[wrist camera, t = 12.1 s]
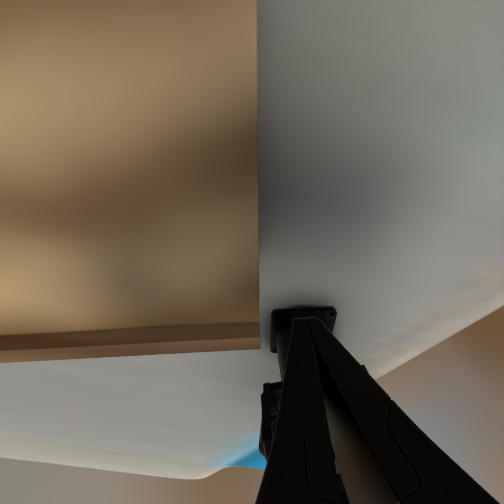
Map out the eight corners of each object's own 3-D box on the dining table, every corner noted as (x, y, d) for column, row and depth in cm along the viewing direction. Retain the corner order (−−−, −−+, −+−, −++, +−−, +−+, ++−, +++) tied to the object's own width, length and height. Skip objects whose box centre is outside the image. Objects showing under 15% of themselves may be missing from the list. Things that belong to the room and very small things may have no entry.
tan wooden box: (252, 254, 21) (260, 348, 14) (-17, 266, 21) (-160, 371, 13) (245, -18, 12) (259, -172, 5) (-236, -11, 11) (-1098, -176, 4)
